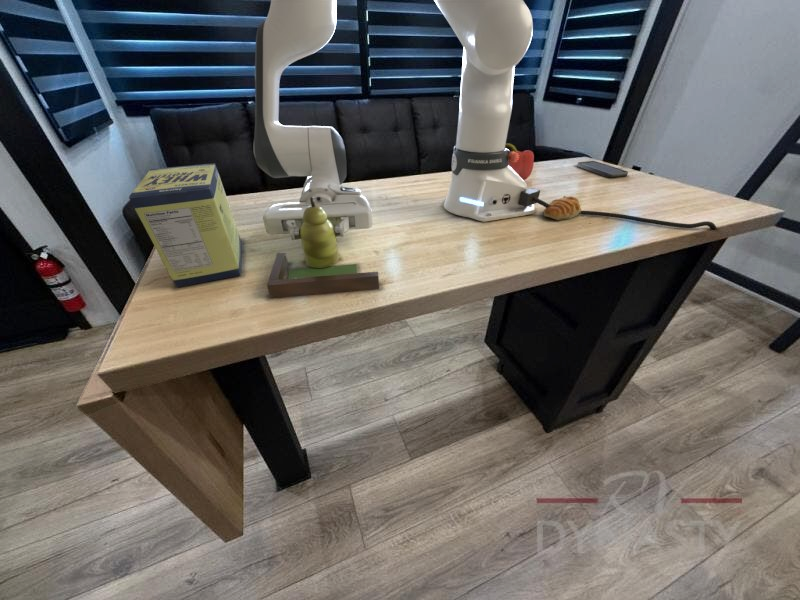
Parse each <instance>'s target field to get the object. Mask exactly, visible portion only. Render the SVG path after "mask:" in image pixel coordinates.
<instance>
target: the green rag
mask: <svg viewBox="0 0 800 600" xmlns="http://www.w3.org/2000/svg"><path fill="white" fill-rule="evenodd" d="M353 273H358V271H357V264H341V265H340V264H339V265H331V266H329V267H324V268H314V267H303V268H291V269H289V270H288V275H287V278H286V279H292V278H304V277H316V276H329V275H341V274H353Z"/></svg>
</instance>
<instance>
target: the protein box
mask: <svg viewBox="0 0 800 600" xmlns="http://www.w3.org/2000/svg"><path fill="white" fill-rule="evenodd" d="M128 199H129V200H130V202H131V205H132V206H133V208H134V210H135V212H136V214H137V216H138V218H139V220H140V221H141V223H142V225H143V228H144V229H145V231H146V233H147V235H148V237H149V238H150V241H151V242H152V244H153V246H154V248H155V250H156V252H157V254H158V256H159V257H160V260H161V262H162V263H163V265H164V267H165V269H166V270H167V273H168V275H169V276H170V278H171V280H172V282H173V284H174V286H175V288H182V287H187V286H192V285H197V284H202V283H207V282H213V281H218V280H224V279H229V278H235V277H238V276H239V277H240V276H242V239H241V236H240V232H239V230H238V227H237V223H236V221H235V218H234V215H233V214H234V213H233V212H232V209H231V206H230V203H229V199H228V197H227V194H226V191H225V188H224V185H223V182H222V180H221V176H220V174H219V171H218V168H217V165H216V163H215V162H214V163H204V164H191V165H184V166H183V165H182V166H171V167H158V168H157V167H156V168H149V170H148V172H147V173H146V175H145V176H144V177H143V178H142V180H141V181H140V182H139V183H138V185H137V186H136V187H135V188H134V190H133V191H132V192H131V193H130V195H129V196H128Z"/></svg>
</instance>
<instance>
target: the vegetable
mask: <svg viewBox="0 0 800 600" xmlns="http://www.w3.org/2000/svg"><path fill="white" fill-rule="evenodd" d="M507 147H509V148H510V149H511V151H514V152H516V153H518V155H519V156H518V157H519V158H518V159H519V160H516V161H517V162H512V161H510V160H509V166H510V167H511V168H512V169H513V170H514V171H515V172H516V173H517V174H518V175H519V176H520V177H521V178H522V179H523V180H524V181H526V180H527V179H528V178H529V177H530V176H531V175H532V172H533V168H534V160H535V155H534V152H533V151H532V150H531V149H528V150H524V151H519V150H517V148H516V146H515V145H513V144H512V143H507V142H506V144H505V148H507Z"/></svg>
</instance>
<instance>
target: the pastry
mask: <svg viewBox="0 0 800 600" xmlns="http://www.w3.org/2000/svg"><path fill="white" fill-rule="evenodd" d="M548 204H549V205H550V207H547V208H546V207H545V209H544V211H543V216H544V217H547V218H551V219H554V220H556V221H561V220H568V219H571V218H572V219H573V218H574V217H577V216H578V214H579V213H580V212H581V211H582V208H581V204H580V200H579V199H578V198H577V197H576V196H575V197H574V196H566V195H564V196H562V197H560V198H555V199H553V200H551V202H549V203H548Z"/></svg>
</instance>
